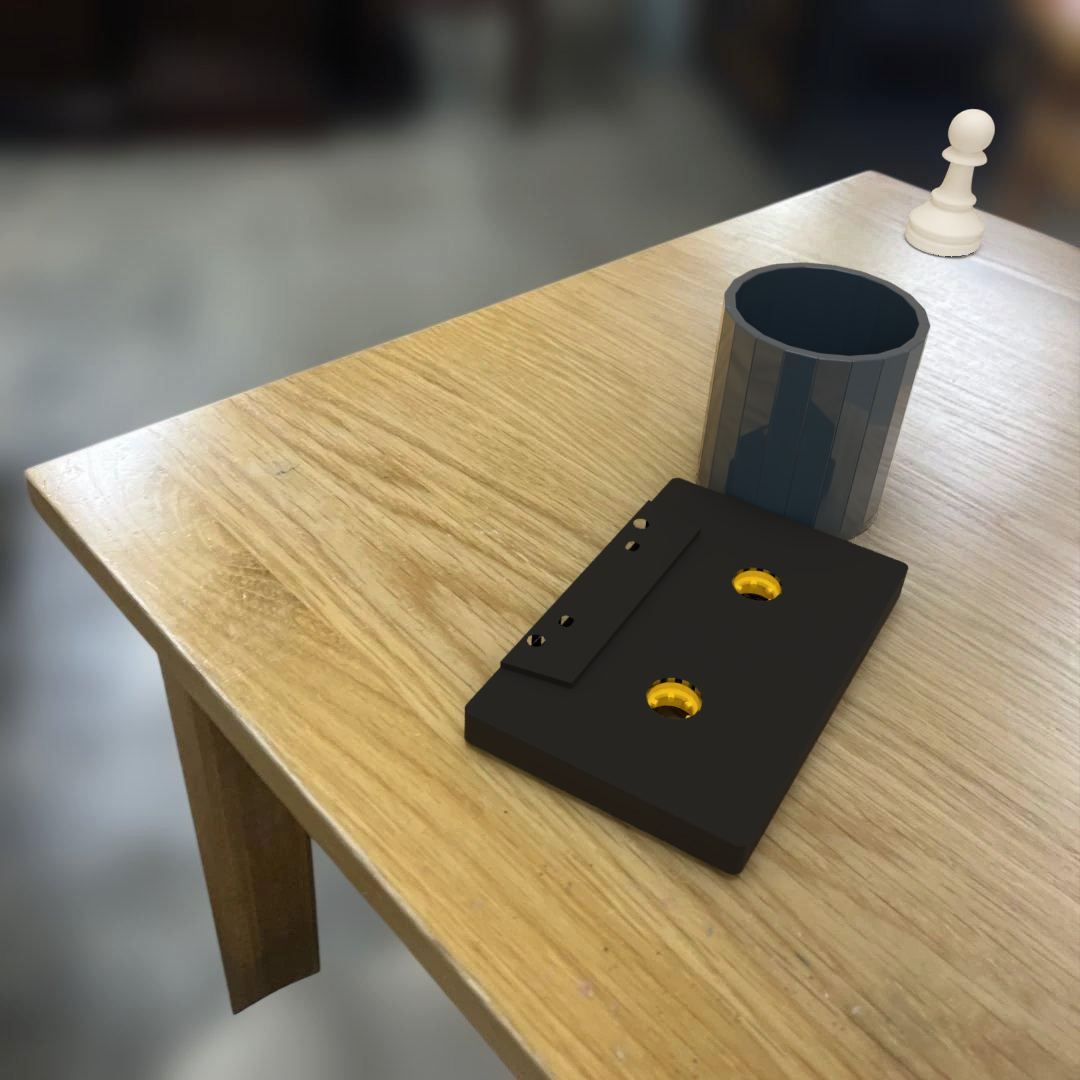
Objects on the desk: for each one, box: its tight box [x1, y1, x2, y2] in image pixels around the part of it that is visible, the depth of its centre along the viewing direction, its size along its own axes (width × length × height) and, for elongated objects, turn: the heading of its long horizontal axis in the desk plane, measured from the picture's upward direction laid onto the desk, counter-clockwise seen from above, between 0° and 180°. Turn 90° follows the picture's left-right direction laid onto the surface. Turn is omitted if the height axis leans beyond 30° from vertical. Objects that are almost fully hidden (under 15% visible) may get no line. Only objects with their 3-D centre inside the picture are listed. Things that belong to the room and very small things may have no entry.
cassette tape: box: [463, 477, 909, 876], centre depth 50 cm, size 18×12×2 cm, turn 149°
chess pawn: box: [904, 108, 996, 258], centre depth 81 cm, size 5×5×9 cm
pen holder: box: [695, 261, 931, 541], centre depth 58 cm, size 9×9×10 cm
